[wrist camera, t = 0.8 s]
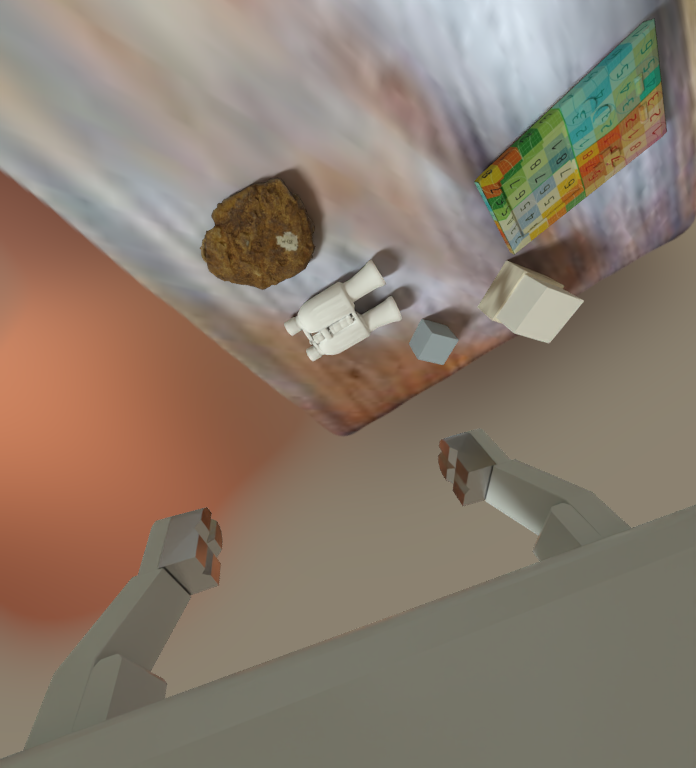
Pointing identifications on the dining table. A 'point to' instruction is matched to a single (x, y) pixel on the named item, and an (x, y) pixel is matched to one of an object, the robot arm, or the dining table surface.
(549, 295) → the white block
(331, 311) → the binoculars
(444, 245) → the dining table surface
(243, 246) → the decorative rock
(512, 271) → the birch slab
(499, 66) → the dining table surface
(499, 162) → the puzzle game
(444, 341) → the grey cube
